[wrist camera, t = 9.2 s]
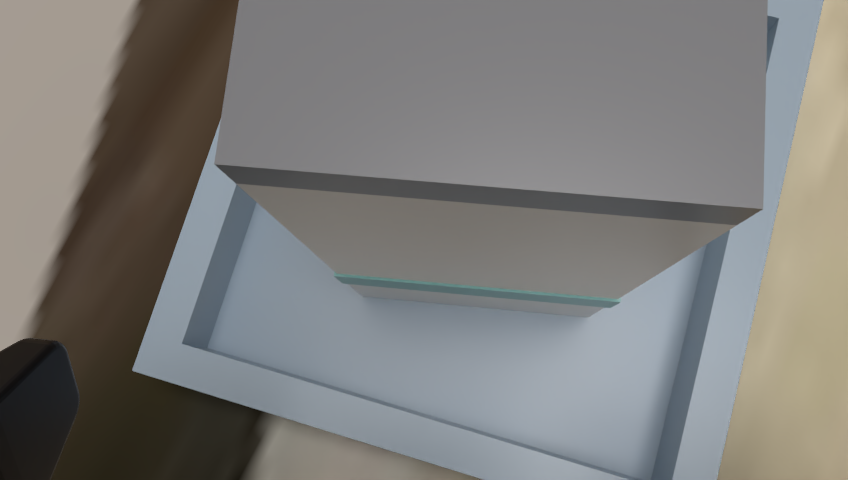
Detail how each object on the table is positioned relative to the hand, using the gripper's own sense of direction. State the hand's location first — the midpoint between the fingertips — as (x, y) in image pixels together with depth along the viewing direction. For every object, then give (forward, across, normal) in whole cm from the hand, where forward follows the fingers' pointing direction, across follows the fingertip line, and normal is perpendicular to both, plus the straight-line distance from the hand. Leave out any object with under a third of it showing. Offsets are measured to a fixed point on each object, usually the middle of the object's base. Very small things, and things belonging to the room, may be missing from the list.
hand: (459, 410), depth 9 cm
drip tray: (+10, 0, +3) cm, 10 cm away
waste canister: (+9, 0, +3) cm, 10 cm away
